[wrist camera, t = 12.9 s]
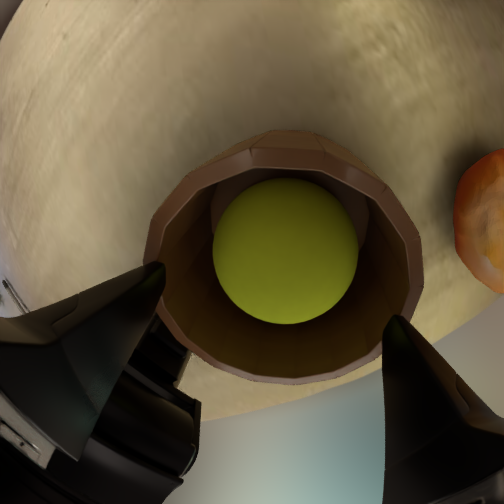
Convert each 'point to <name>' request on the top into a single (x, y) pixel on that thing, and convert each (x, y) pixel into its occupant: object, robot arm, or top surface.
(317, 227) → the ball
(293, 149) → the bucket
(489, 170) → the fruit
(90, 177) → the top surface
